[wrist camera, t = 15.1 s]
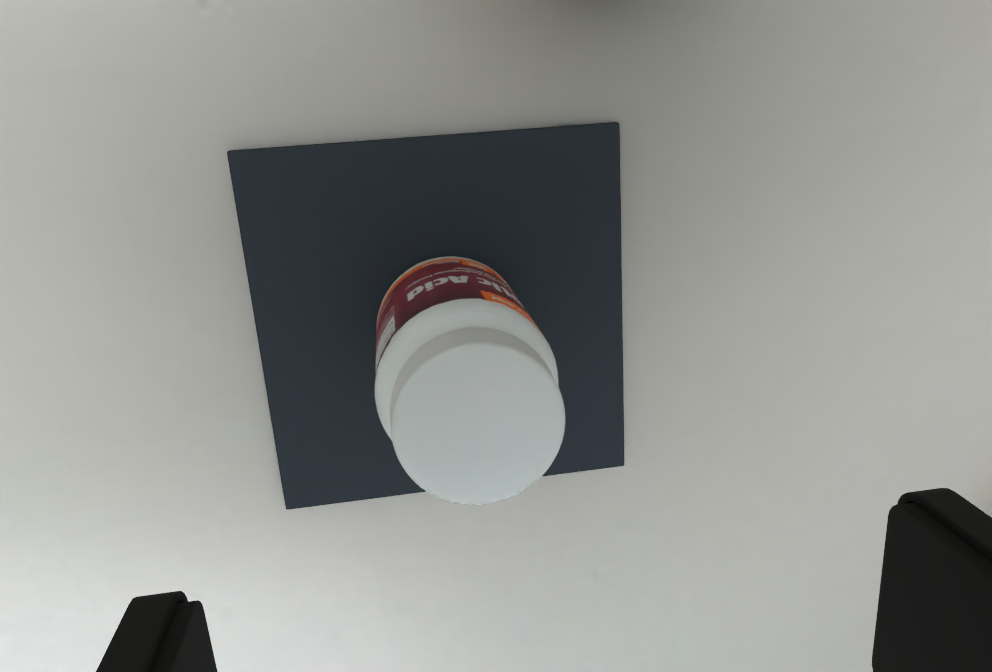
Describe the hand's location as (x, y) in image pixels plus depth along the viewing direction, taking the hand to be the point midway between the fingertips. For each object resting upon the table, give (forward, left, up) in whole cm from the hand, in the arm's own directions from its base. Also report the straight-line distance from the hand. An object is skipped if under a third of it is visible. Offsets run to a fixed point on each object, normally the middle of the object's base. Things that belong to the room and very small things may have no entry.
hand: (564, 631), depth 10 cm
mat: (0, 0, -16) cm, 16 cm away
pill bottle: (0, 0, -16) cm, 16 cm away
